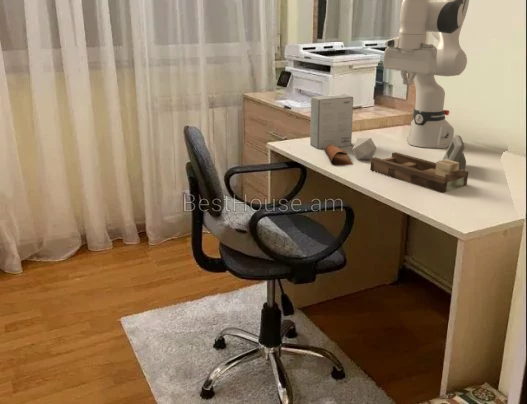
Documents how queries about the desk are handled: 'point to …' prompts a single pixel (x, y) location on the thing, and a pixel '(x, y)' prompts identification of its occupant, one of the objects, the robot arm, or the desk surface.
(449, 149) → the digital clock
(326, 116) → the hard drive box
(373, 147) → the die
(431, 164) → the track
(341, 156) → the sunglasses case
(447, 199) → the desk surface
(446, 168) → the maple cube
